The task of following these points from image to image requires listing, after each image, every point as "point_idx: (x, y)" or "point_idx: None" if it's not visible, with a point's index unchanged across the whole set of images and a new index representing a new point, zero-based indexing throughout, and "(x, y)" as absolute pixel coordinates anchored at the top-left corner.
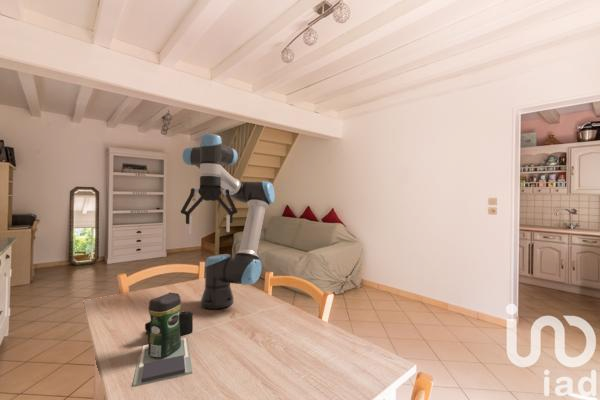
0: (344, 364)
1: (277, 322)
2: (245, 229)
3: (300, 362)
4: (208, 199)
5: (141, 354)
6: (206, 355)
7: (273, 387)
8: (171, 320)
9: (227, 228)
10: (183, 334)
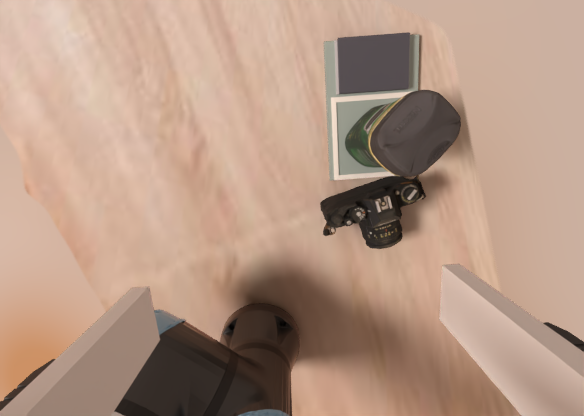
0: None
1: (133, 197)
2: None
3: (118, 3)
4: None
5: None
6: (296, 100)
7: None
8: (383, 108)
9: (133, 311)
10: (338, 194)
